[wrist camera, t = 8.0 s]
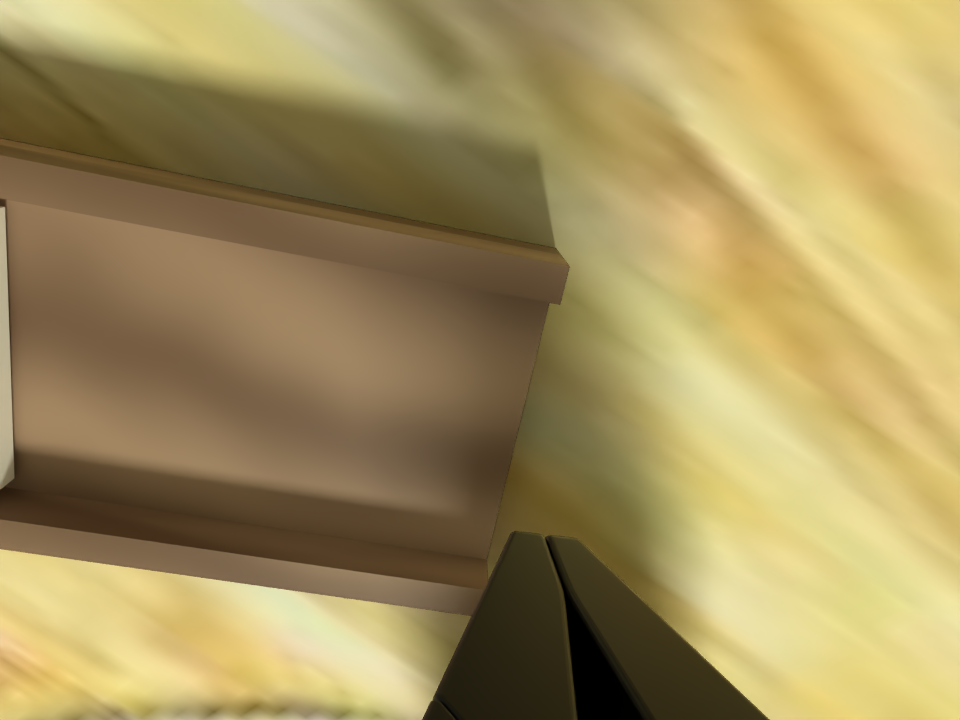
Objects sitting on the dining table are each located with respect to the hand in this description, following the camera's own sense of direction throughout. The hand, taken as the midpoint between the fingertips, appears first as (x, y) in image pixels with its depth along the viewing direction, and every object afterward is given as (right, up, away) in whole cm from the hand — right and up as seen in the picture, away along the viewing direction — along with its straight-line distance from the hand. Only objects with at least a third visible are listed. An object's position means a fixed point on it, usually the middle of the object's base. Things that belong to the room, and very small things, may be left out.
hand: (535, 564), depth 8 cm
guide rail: (-11, +3, +11) cm, 16 cm away
